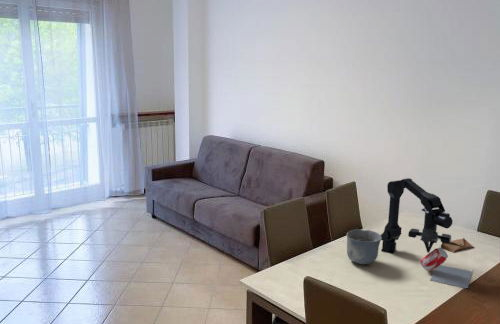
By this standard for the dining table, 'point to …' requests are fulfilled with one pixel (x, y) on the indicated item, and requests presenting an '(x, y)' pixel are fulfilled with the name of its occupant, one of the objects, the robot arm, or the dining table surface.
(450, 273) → the mat
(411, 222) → the dining table surface
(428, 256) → the soda can
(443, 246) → the sunglasses case
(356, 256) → the cup
